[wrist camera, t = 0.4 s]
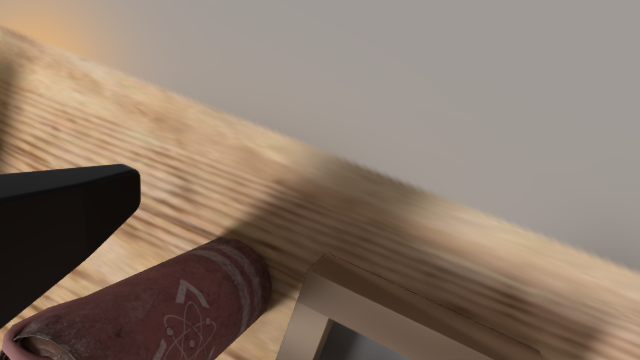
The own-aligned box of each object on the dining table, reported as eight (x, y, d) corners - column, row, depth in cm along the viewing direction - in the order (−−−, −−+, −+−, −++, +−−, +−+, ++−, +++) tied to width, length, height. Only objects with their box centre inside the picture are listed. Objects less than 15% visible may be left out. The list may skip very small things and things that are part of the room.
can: (225, 215, 28) (20, 288, 15) (291, 282, 27) (134, 424, 14) (178, 274, 30) (-42, 386, 17) (239, 339, 29) (55, 514, 16)
